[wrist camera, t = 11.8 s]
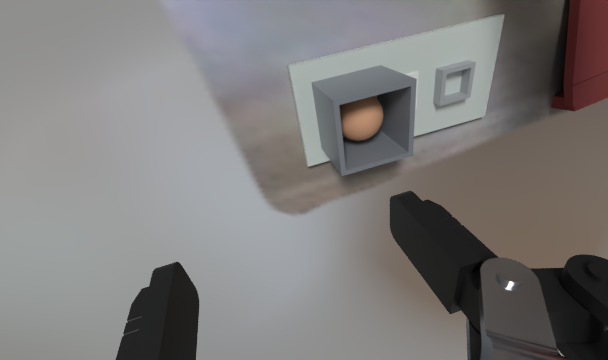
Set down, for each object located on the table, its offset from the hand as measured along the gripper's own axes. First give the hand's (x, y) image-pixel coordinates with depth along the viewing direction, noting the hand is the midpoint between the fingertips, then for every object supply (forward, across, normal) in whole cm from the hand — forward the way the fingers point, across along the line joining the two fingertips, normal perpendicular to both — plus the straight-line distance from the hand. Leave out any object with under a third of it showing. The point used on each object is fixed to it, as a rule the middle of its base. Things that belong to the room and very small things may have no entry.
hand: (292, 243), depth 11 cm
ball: (+24, -13, +7) cm, 28 cm away
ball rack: (+28, -20, +7) cm, 35 cm away
